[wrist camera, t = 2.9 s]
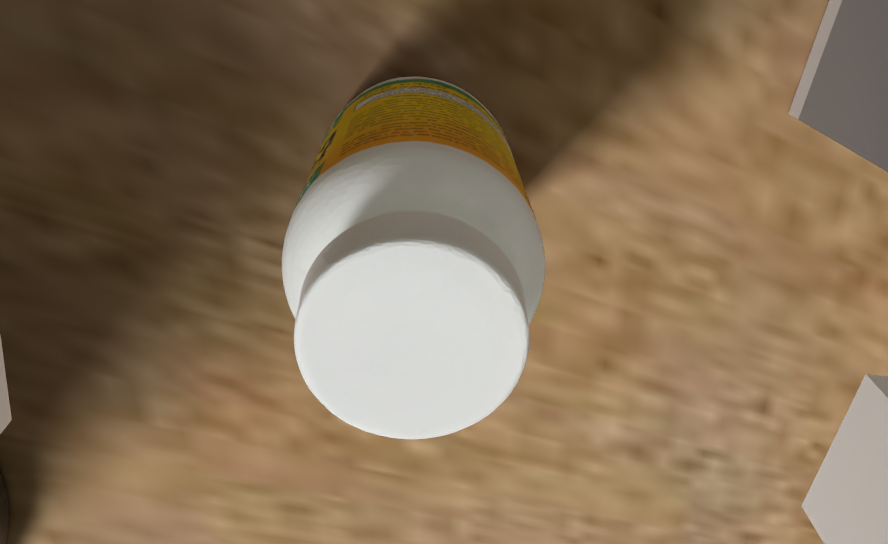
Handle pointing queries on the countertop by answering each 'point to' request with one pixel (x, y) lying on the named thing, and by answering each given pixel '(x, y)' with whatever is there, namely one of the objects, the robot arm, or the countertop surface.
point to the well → (849, 79)
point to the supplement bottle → (413, 263)
